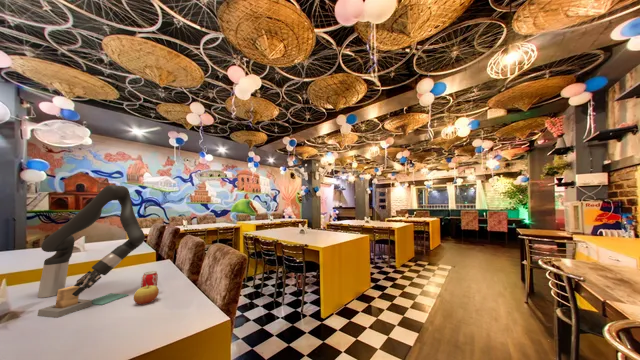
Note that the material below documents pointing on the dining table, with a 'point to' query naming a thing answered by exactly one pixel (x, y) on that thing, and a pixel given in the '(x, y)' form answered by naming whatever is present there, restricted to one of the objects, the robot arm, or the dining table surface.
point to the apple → (146, 294)
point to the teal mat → (107, 298)
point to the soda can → (149, 279)
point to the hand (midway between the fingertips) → (71, 293)
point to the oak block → (66, 297)
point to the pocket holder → (64, 309)
